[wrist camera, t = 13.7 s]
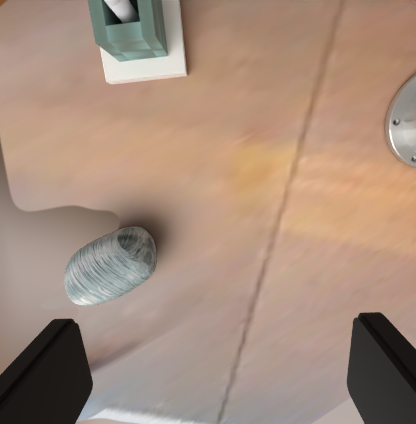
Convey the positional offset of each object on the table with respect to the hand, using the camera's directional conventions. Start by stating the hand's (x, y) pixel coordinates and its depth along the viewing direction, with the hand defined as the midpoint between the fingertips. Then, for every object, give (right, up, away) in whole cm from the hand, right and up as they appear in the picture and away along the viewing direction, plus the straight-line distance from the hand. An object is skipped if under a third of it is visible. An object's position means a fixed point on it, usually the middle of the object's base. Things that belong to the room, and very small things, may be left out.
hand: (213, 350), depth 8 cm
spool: (-14, -2, +31) cm, 34 cm away
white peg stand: (-8, +26, +22) cm, 35 cm away
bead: (-8, +26, +21) cm, 34 cm away
